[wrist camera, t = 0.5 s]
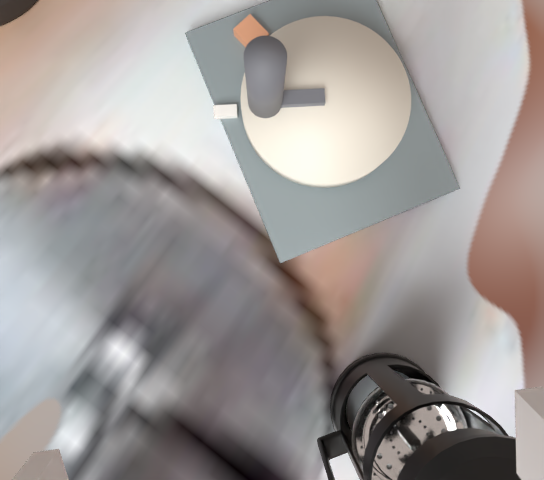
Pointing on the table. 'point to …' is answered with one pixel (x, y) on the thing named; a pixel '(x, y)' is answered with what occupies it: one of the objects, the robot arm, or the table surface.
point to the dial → (324, 100)
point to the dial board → (304, 199)
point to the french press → (413, 428)
